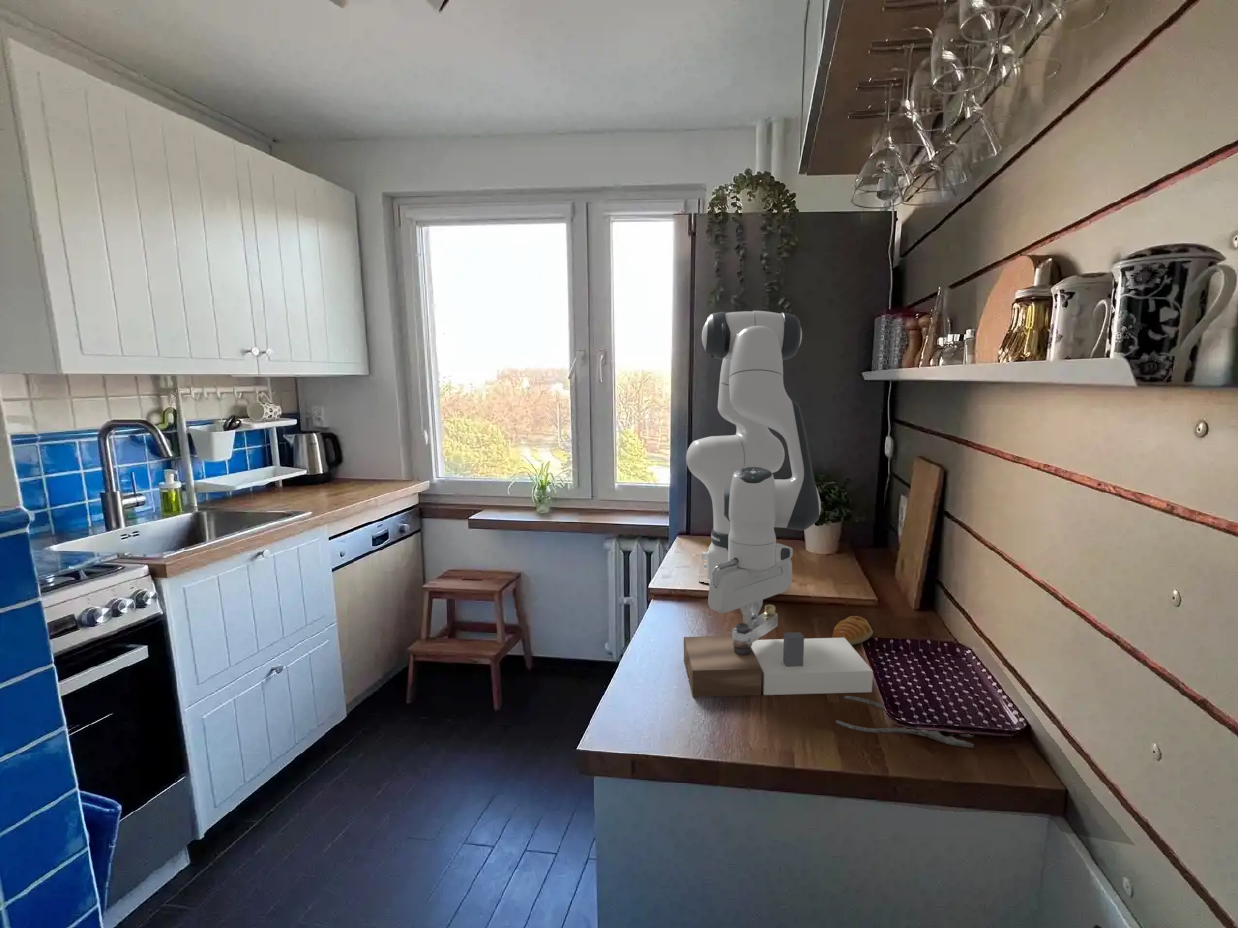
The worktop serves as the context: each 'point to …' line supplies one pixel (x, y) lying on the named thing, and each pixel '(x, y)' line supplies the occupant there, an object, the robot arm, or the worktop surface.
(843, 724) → the pliers
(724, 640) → the jamb block
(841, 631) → the pastry
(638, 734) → the worktop surface
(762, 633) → the lock bar
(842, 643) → the door panel
